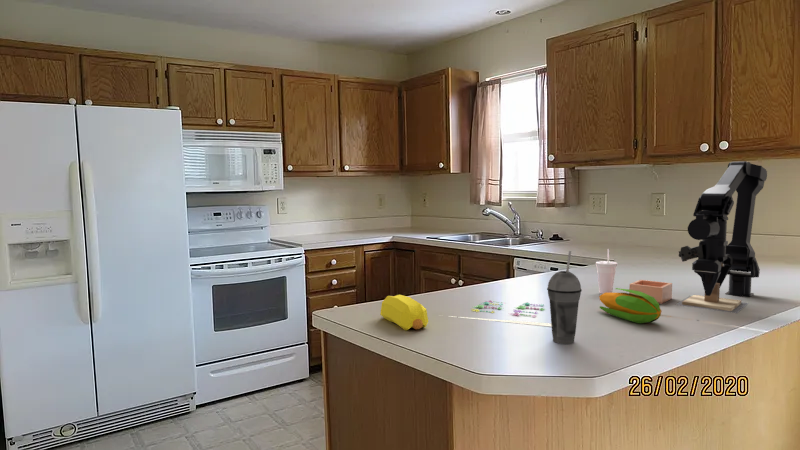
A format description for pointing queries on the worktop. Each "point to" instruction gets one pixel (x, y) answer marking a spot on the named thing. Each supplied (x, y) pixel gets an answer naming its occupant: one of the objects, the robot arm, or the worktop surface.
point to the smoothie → (606, 275)
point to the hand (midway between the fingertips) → (712, 292)
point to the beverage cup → (564, 304)
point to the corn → (631, 306)
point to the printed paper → (479, 306)
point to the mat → (716, 309)
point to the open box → (653, 289)
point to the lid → (712, 301)
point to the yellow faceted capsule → (404, 312)
